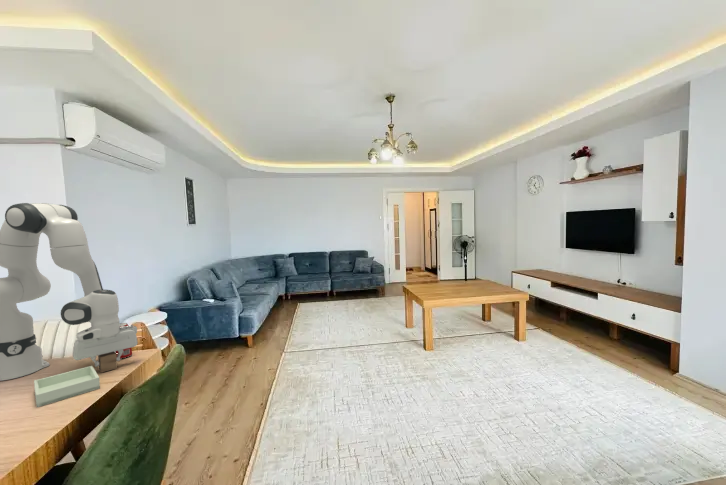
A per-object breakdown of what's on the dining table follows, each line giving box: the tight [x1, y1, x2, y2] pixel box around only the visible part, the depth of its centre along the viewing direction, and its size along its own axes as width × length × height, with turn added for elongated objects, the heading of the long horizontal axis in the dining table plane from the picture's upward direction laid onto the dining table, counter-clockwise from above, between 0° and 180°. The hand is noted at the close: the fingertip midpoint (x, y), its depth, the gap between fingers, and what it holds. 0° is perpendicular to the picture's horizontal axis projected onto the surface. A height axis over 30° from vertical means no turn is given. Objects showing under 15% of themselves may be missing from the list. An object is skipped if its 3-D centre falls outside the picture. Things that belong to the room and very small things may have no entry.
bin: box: [33, 365, 101, 408], centre depth 111 cm, size 16×16×4 cm
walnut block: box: [97, 351, 118, 373], centre depth 127 cm, size 5×5×6 cm
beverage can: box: [114, 322, 133, 360], centre depth 140 cm, size 6×6×15 cm
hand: (107, 363), depth 128 cm, fingers closed on walnut block, 5 cm apart
